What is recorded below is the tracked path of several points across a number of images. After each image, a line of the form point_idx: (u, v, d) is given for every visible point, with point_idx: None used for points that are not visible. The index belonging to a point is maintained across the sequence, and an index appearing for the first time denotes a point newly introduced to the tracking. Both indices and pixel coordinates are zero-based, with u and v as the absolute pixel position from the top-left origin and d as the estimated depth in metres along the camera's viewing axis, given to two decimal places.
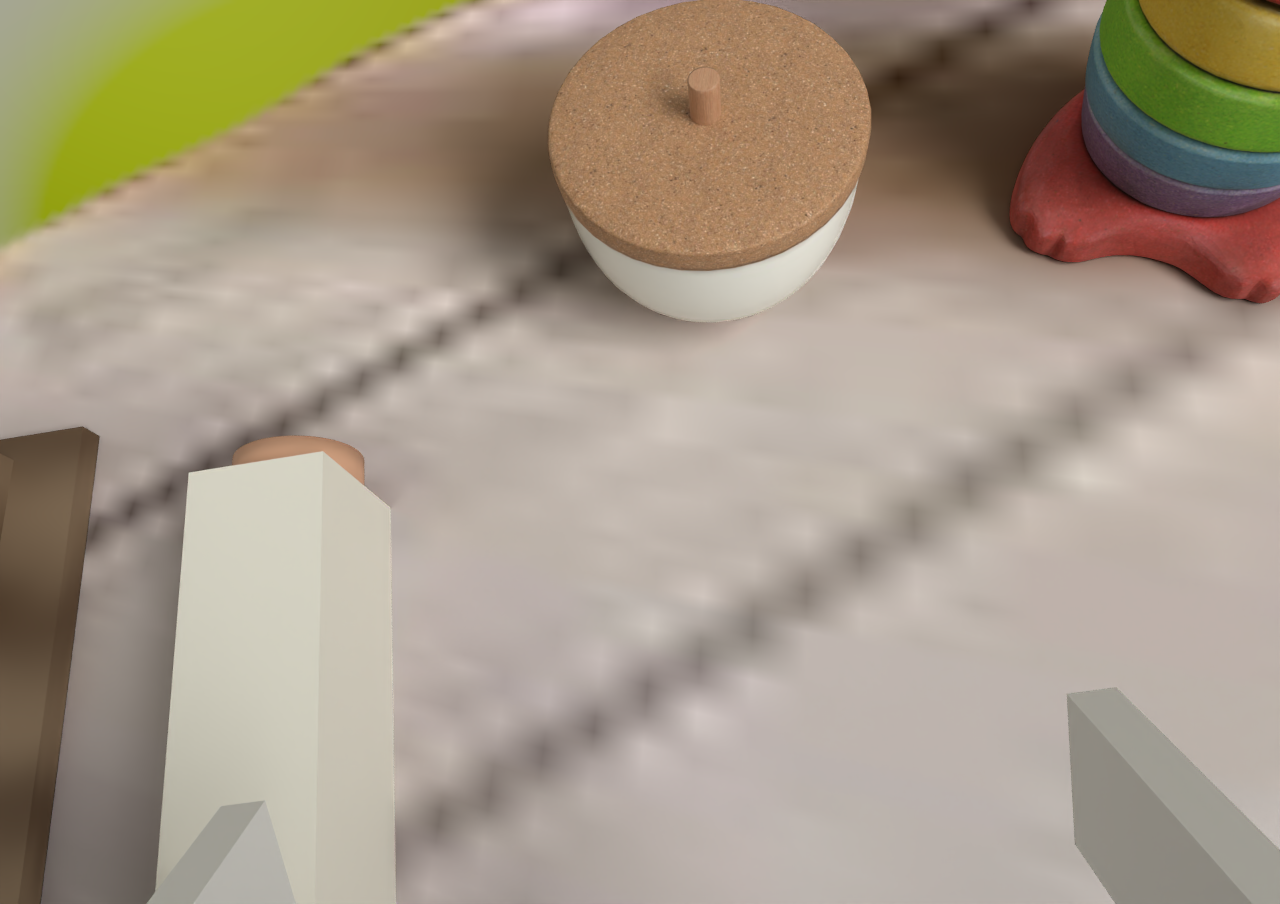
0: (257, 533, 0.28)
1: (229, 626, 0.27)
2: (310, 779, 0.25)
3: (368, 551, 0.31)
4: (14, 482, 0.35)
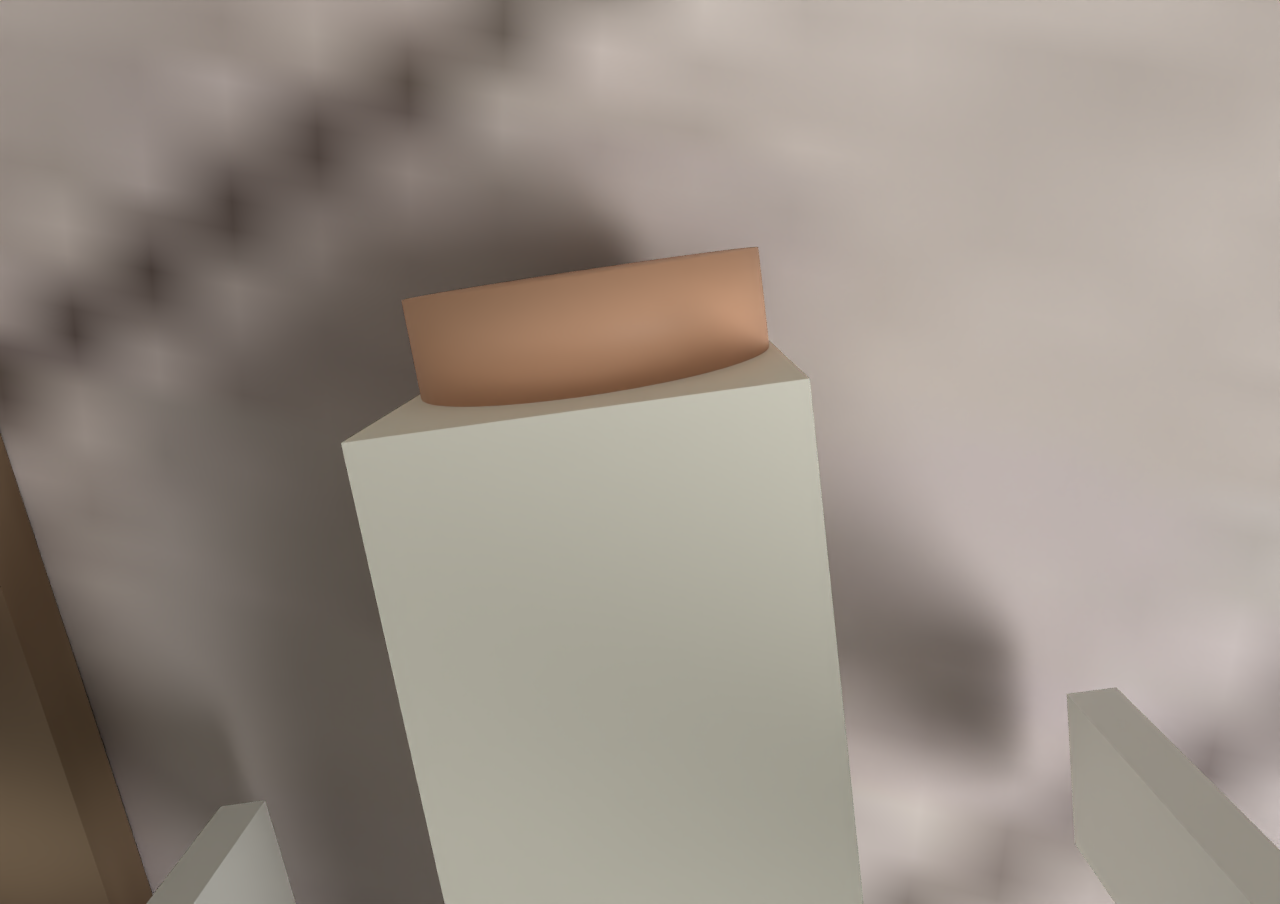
0: (630, 647, 0.09)
1: (595, 893, 0.10)
2: None
3: None
4: None
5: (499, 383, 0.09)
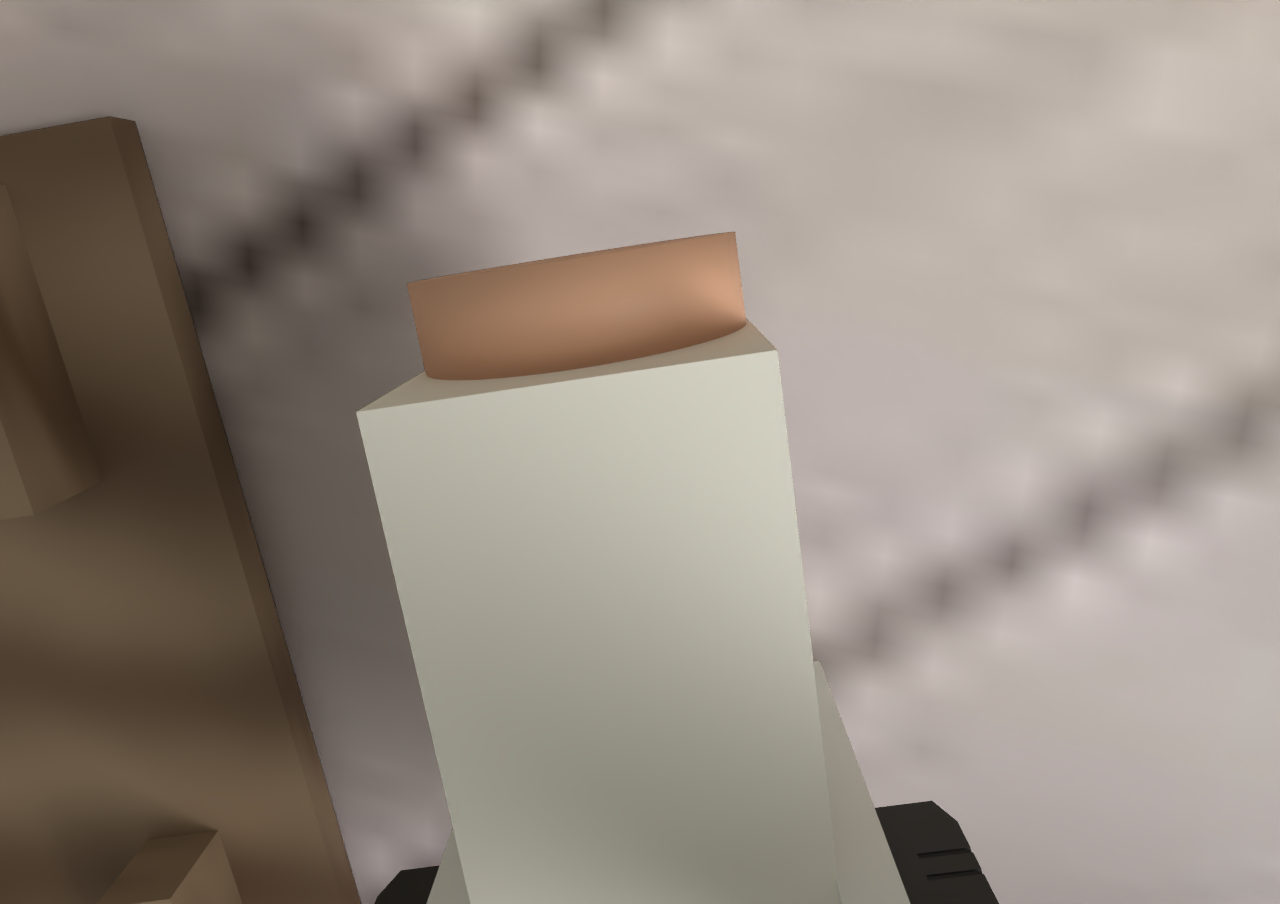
0: (619, 594, 0.10)
1: (590, 819, 0.11)
2: None
3: None
4: (28, 228, 0.20)
5: (498, 358, 0.10)
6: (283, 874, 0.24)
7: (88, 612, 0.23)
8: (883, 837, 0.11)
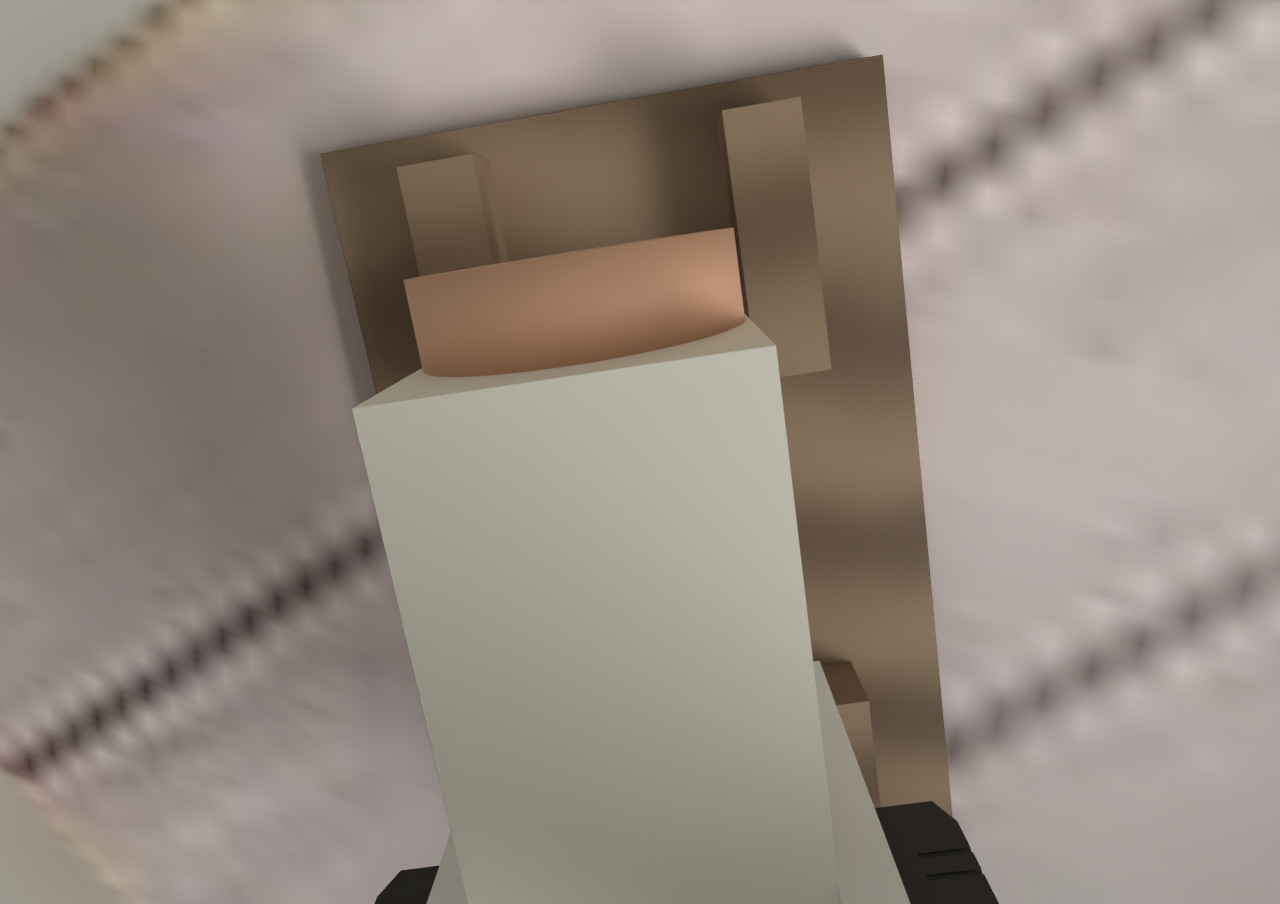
0: (616, 592, 0.10)
1: (588, 817, 0.11)
2: None
3: None
4: None
5: (495, 354, 0.10)
6: (899, 701, 0.29)
7: None
8: (883, 837, 0.11)
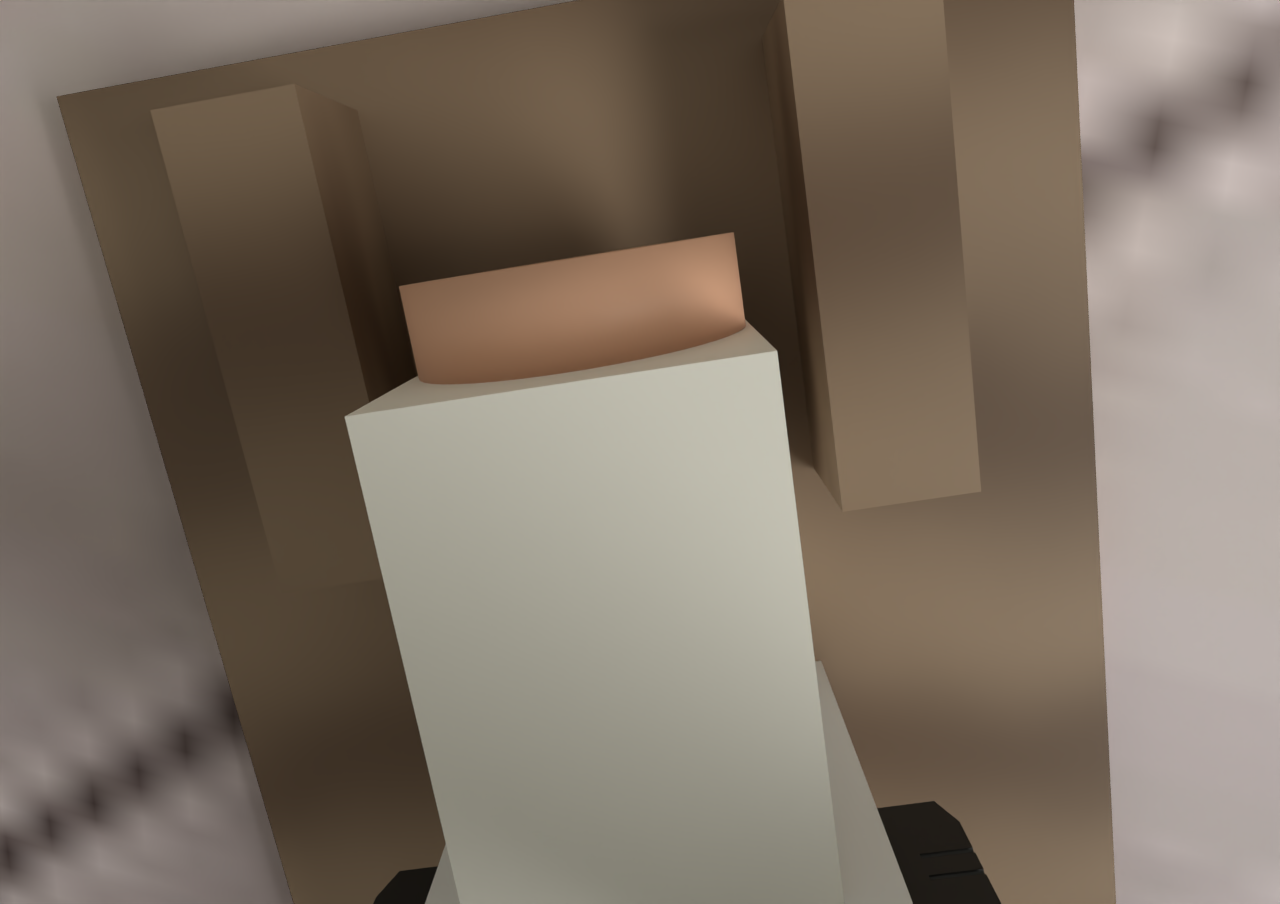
0: (615, 604, 0.10)
1: (588, 834, 0.10)
2: None
3: None
4: None
5: (491, 361, 0.10)
6: None
7: (865, 637, 0.16)
8: (885, 837, 0.11)
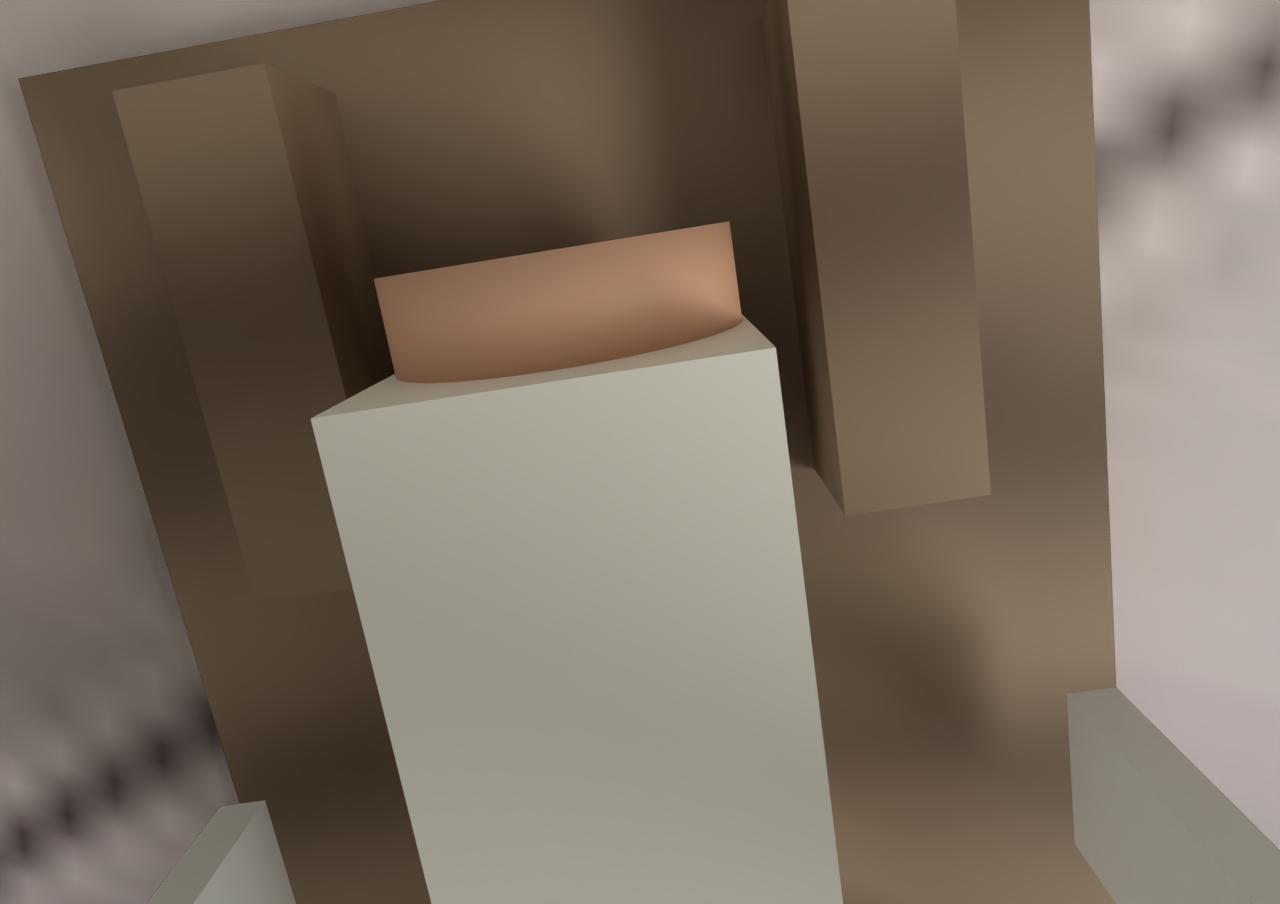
0: (602, 618, 0.09)
1: (574, 862, 0.10)
2: None
3: None
4: None
5: (469, 358, 0.09)
6: None
7: (867, 644, 0.15)
8: None
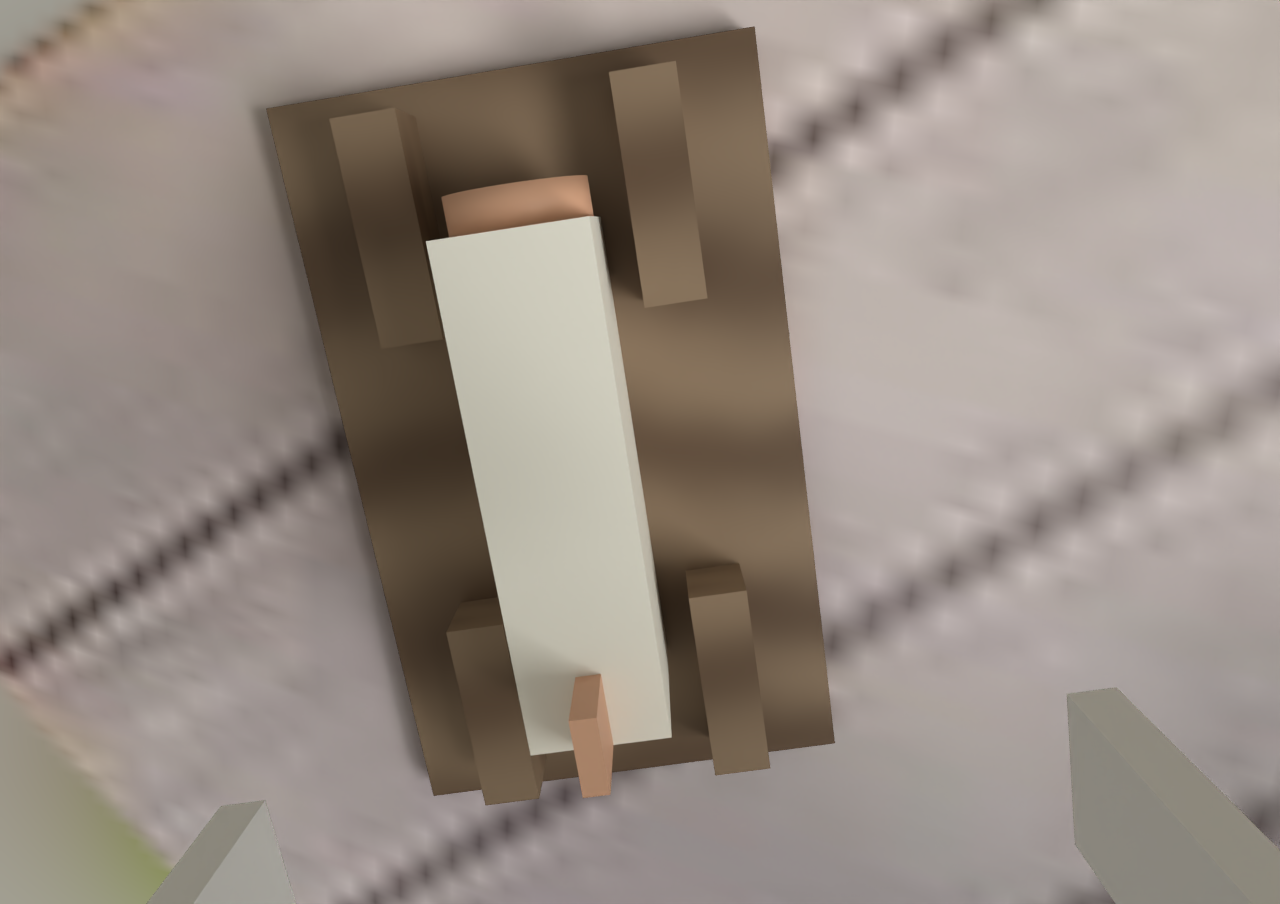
0: (530, 318, 0.25)
1: (521, 419, 0.25)
2: (637, 559, 0.26)
3: (608, 293, 0.28)
4: (683, 105, 0.29)
5: (481, 224, 0.25)
6: (781, 598, 0.33)
7: (674, 391, 0.31)
8: None
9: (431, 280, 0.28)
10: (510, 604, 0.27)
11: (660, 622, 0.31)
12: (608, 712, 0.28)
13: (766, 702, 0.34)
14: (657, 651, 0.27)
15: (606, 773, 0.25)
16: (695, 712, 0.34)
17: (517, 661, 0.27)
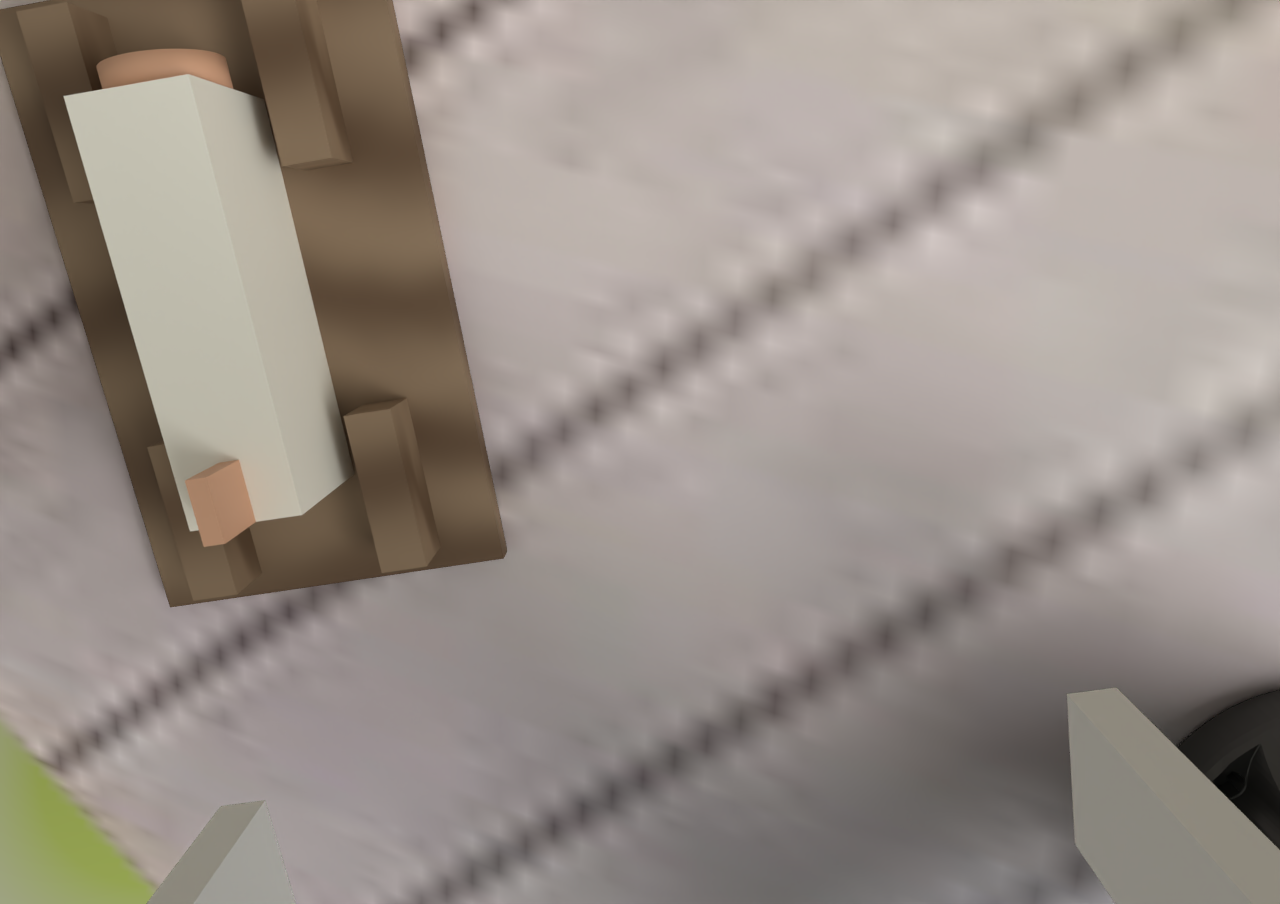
0: (151, 158, 0.31)
1: (152, 243, 0.32)
2: (257, 360, 0.33)
3: (253, 154, 0.35)
4: (322, 5, 0.35)
5: (117, 86, 0.32)
6: (445, 429, 0.39)
7: (338, 248, 0.38)
8: None
9: None
10: (160, 400, 0.33)
11: (327, 440, 0.38)
12: (248, 493, 0.34)
13: (442, 521, 0.40)
14: (283, 440, 0.34)
15: (220, 525, 0.32)
16: None
17: (170, 449, 0.34)
